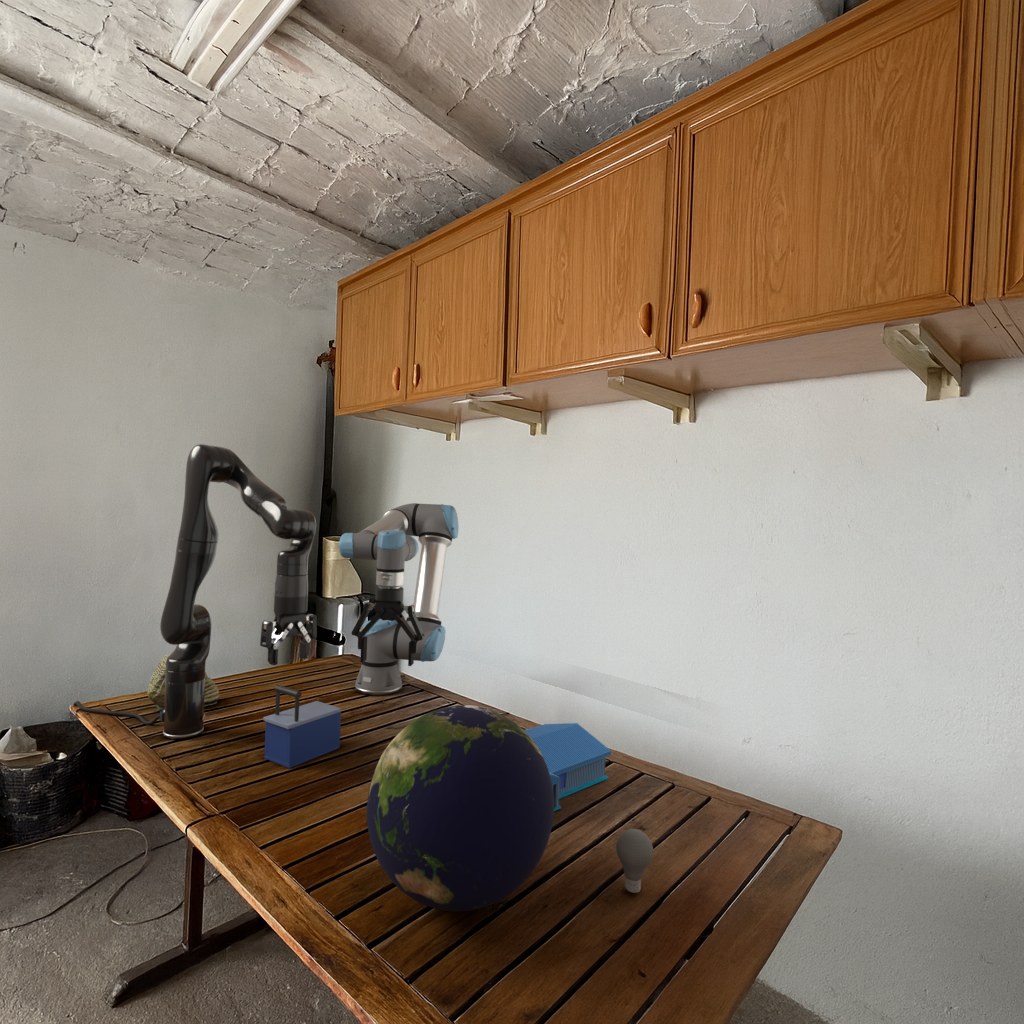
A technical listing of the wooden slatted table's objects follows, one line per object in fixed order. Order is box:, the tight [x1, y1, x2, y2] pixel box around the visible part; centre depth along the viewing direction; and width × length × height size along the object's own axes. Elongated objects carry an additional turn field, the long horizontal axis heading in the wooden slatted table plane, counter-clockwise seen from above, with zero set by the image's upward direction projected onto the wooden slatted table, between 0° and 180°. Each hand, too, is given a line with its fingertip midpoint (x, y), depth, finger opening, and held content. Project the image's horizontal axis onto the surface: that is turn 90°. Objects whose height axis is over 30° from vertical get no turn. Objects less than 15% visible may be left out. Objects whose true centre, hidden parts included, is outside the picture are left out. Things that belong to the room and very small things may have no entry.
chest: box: [264, 711, 342, 769], centre depth 156 cm, size 15×9×9 cm, turn 148°
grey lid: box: [262, 684, 342, 729], centre depth 155 cm, size 16×9×8 cm, turn 147°
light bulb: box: [615, 828, 654, 894], centre depth 106 cm, size 6×6×10 cm
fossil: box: [147, 654, 221, 712], centre depth 185 cm, size 9×18×15 cm, turn 132°
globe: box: [366, 704, 555, 913], centre depth 102 cm, size 30×30×30 cm
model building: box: [523, 722, 612, 812], centre depth 142 cm, size 39×24×10 cm, turn 132°
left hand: (288, 661), depth 151 cm, fingers open, 8 cm apart
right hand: (387, 663), depth 175 cm, fingers open, 13 cm apart
